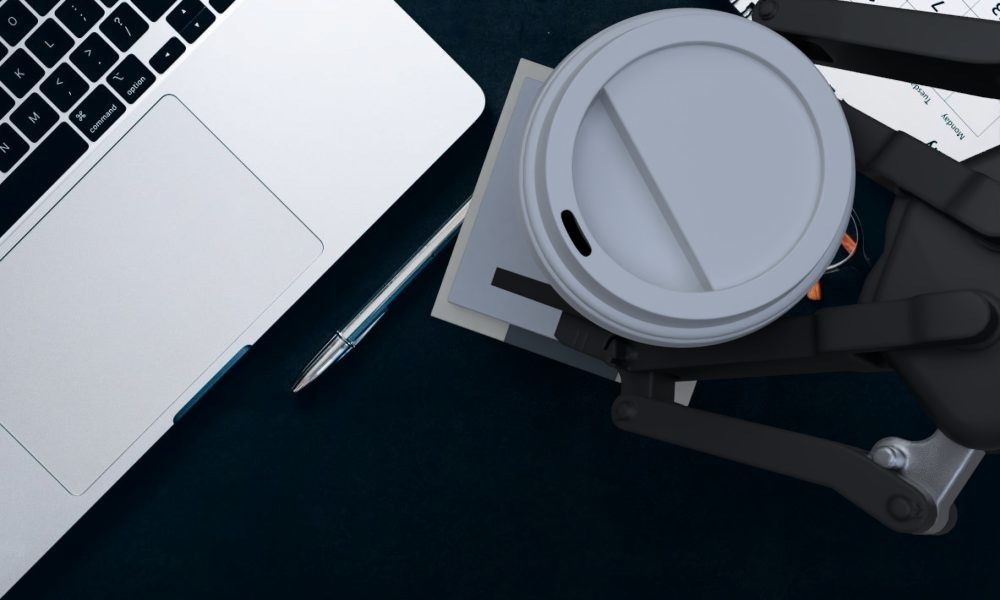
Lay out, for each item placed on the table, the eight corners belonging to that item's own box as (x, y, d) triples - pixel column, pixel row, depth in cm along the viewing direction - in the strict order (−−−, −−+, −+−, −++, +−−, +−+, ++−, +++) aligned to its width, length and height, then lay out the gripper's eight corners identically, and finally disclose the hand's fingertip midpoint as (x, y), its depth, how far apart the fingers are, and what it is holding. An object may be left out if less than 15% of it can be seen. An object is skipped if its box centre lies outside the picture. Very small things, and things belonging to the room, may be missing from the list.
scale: (678, 400, 44) (691, 409, 41) (435, 314, 44) (428, 316, 41) (766, 155, 44) (786, 144, 40) (520, 69, 44) (520, 52, 41)
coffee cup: (504, 126, 36) (494, 3, 21) (719, 102, 36) (864, -40, 21) (527, 340, 36) (533, 371, 21) (742, 317, 36) (904, 331, 21)
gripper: (1192, 798, 19) (527, 437, 35) (1506, -35, 18) (685, -8, 35) (1153, 888, 14) (394, 415, 30) (1590, -272, 13) (578, -109, 30)
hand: (551, 188), depth 32 cm, fingers closed on coffee cup, 7 cm apart
